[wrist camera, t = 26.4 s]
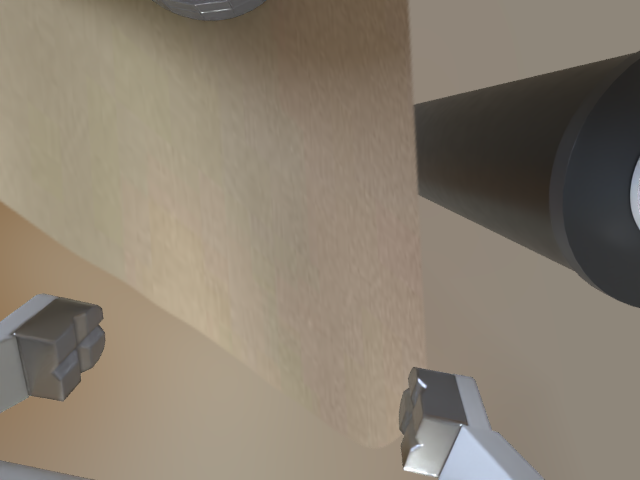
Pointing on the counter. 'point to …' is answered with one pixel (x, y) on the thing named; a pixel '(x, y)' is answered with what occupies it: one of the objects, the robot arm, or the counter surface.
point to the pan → (209, 8)
